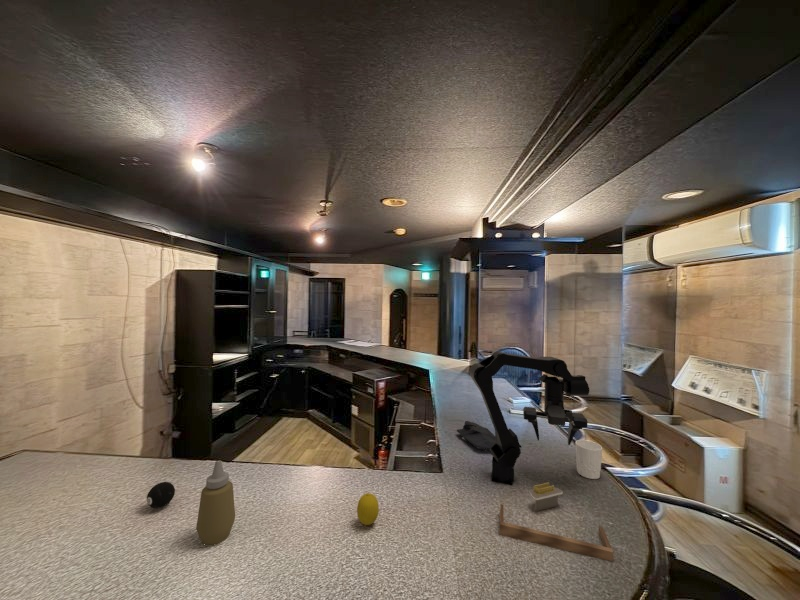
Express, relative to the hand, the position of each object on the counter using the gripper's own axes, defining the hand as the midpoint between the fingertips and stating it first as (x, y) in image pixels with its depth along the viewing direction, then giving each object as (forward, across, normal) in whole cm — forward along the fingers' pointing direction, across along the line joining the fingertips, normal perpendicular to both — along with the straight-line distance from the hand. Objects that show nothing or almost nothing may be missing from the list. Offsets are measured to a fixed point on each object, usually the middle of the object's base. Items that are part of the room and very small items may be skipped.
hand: (553, 442), depth 103 cm
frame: (+12, -4, -29) cm, 32 cm away
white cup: (+12, +12, +8) cm, 19 cm away
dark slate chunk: (+13, -25, +22) cm, 36 cm away
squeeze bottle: (+12, -80, -59) cm, 100 cm away
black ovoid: (+12, -104, -56) cm, 119 cm away
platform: (+13, -4, -17) cm, 22 cm away
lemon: (+12, -48, -42) cm, 65 cm away
